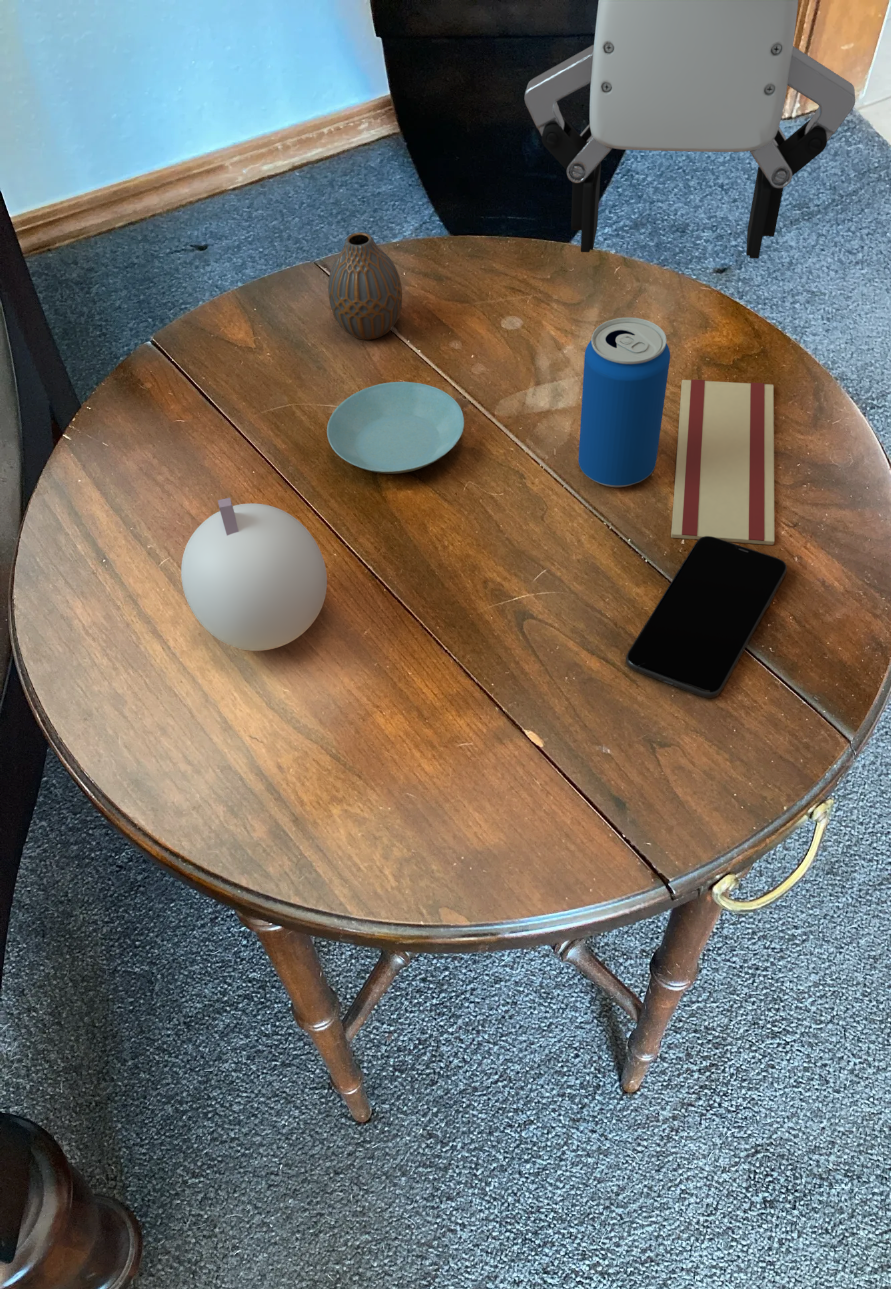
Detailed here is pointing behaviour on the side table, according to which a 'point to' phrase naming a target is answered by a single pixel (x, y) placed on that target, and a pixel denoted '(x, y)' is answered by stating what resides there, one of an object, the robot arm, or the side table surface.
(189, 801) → the side table surface
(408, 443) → the saucer
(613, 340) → the beverage can
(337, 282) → the vase
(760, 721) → the side table surface
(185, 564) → the ornament
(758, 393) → the tea towel
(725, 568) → the smartphone
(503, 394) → the side table surface
